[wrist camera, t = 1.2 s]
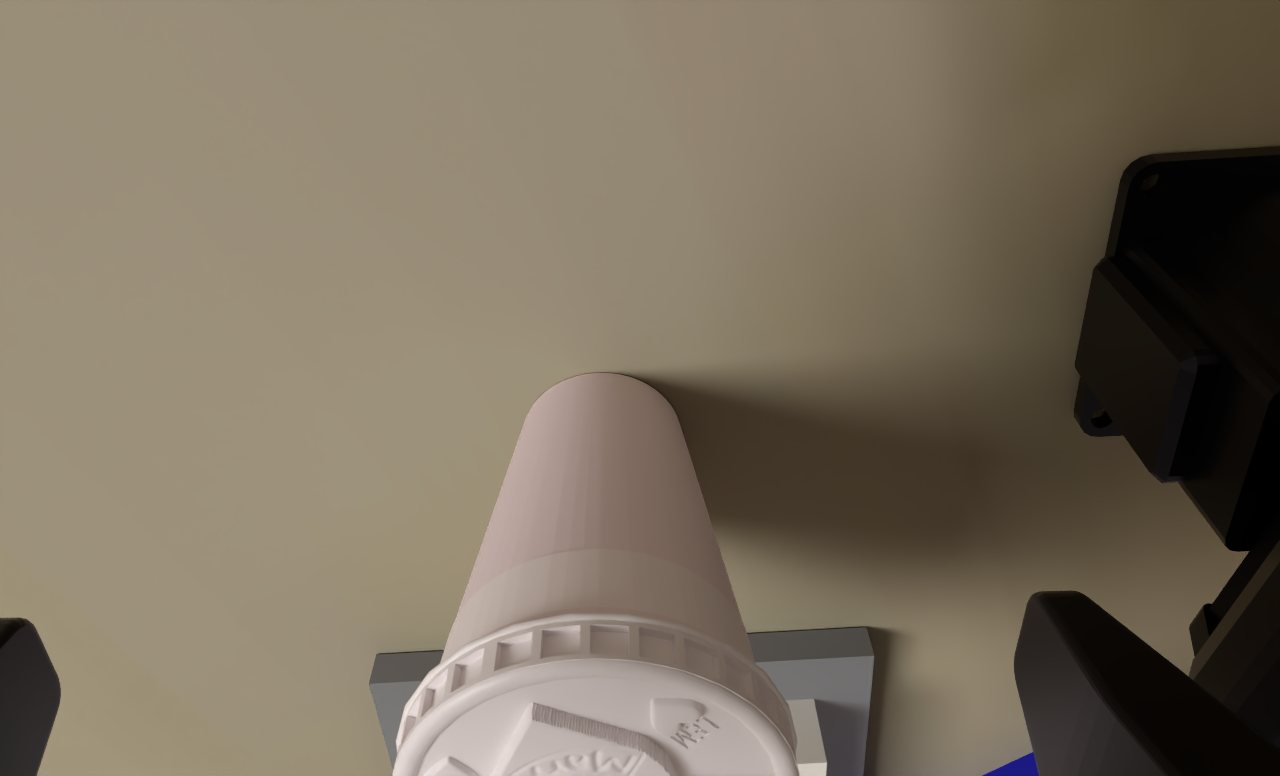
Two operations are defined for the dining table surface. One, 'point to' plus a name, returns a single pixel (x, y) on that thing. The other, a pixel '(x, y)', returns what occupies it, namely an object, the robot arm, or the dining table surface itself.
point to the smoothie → (598, 615)
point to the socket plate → (795, 662)
